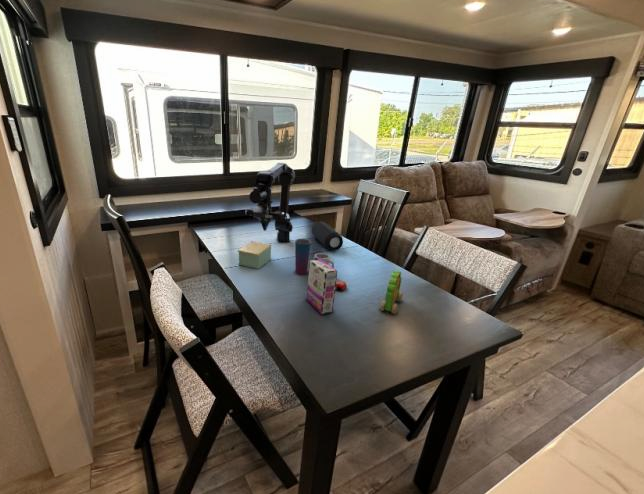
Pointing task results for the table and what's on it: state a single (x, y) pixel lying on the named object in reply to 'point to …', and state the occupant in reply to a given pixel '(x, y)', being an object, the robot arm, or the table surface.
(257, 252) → the lid
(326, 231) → the portable speaker
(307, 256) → the cup
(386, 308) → the green toy caterpillar
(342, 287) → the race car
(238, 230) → the table surface
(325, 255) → the mug
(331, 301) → the candy bar box
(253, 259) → the green hinged box
